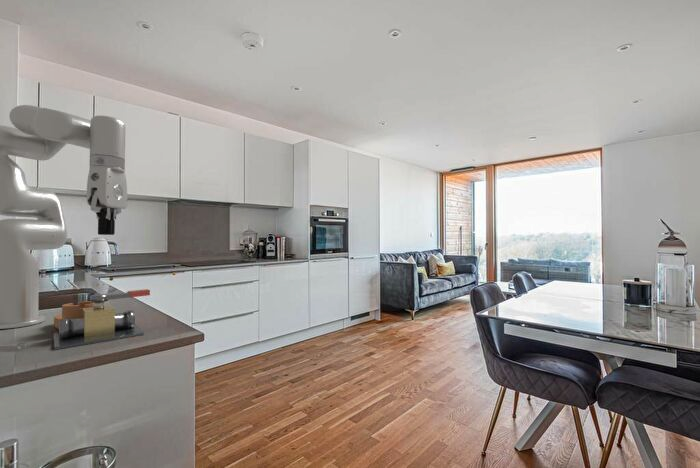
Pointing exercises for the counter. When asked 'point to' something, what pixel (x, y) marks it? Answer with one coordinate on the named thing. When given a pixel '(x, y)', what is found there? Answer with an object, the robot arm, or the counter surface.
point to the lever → (119, 295)
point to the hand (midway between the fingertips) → (106, 234)
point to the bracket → (72, 311)
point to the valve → (96, 327)
